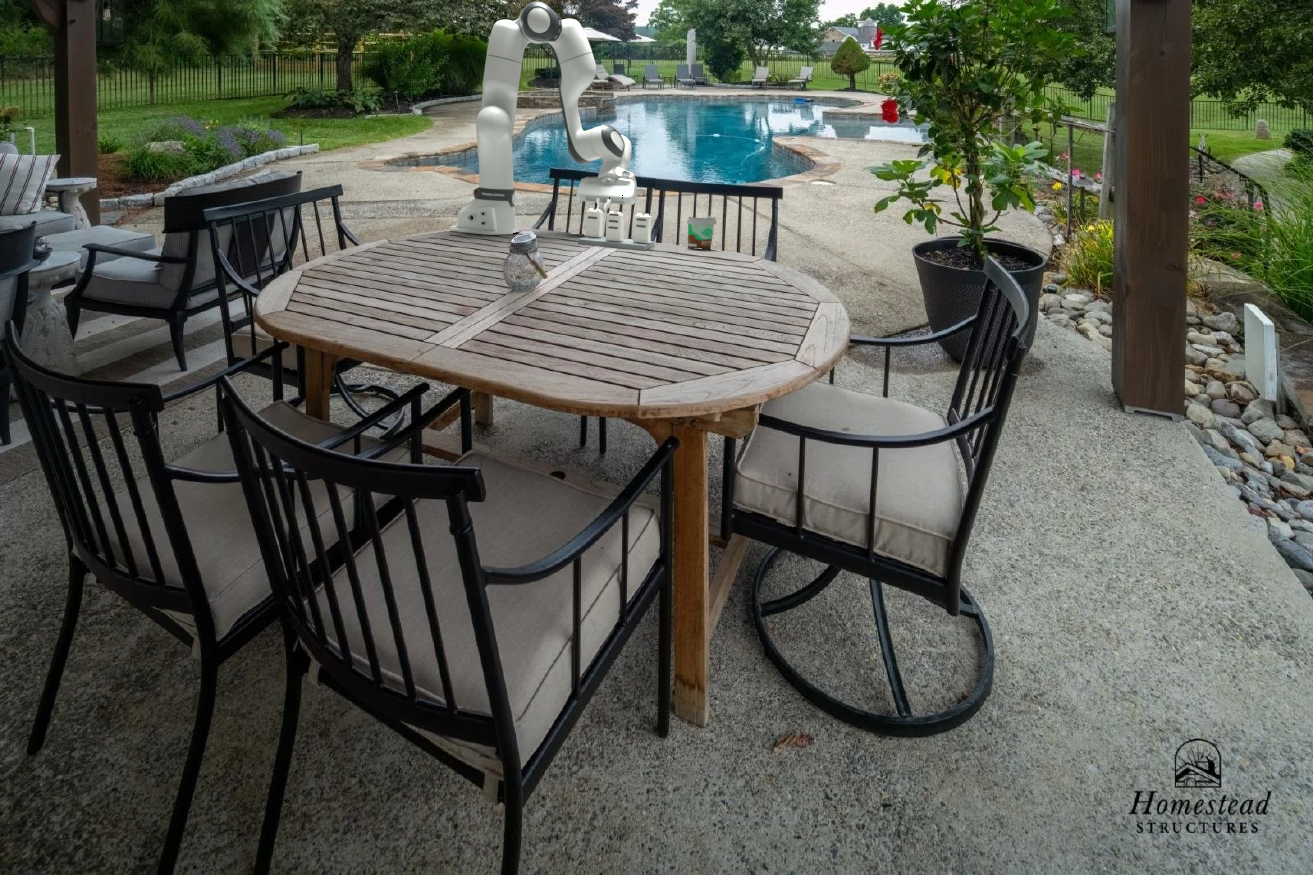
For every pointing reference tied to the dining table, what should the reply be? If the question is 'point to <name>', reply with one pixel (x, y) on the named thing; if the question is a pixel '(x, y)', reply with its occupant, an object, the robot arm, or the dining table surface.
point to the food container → (700, 232)
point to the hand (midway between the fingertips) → (601, 210)
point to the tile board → (615, 243)
